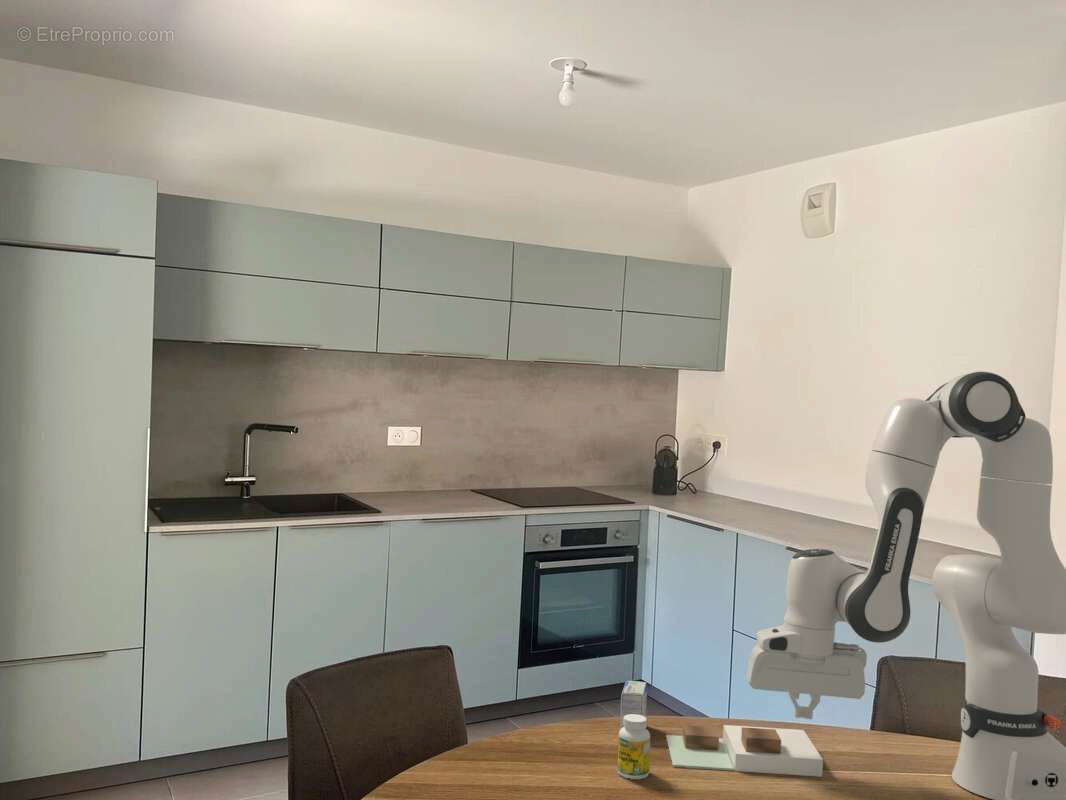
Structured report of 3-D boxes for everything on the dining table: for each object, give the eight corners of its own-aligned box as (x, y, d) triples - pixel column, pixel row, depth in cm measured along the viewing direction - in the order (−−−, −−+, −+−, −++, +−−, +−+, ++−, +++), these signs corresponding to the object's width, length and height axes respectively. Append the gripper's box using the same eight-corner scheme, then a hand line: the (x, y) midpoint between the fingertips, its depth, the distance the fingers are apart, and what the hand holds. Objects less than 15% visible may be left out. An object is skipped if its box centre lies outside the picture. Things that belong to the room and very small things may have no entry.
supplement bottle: (653, 772, 153) (656, 717, 153) (640, 783, 149) (642, 726, 149) (626, 764, 156) (628, 710, 156) (611, 774, 152) (614, 718, 152)
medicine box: (642, 740, 168) (644, 694, 168) (619, 737, 169) (621, 691, 169) (645, 725, 176) (647, 681, 176) (623, 723, 177) (625, 679, 177)
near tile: (774, 743, 161) (775, 729, 161) (780, 754, 156) (781, 739, 156) (741, 741, 161) (741, 727, 161) (746, 751, 156) (746, 737, 156)
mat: (721, 740, 169) (721, 738, 169) (733, 770, 155) (734, 768, 155) (665, 737, 170) (666, 734, 170) (672, 766, 156) (673, 764, 156)
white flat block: (802, 745, 168) (803, 730, 168) (822, 776, 154) (823, 759, 154) (722, 740, 169) (723, 724, 169) (735, 770, 155) (735, 753, 155)
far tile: (714, 740, 168) (715, 727, 168) (718, 750, 163) (718, 736, 163) (682, 738, 169) (683, 725, 169) (685, 748, 164) (685, 734, 164)
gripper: (862, 641, 161) (857, 717, 161) (748, 630, 163) (742, 706, 162) (872, 649, 155) (867, 729, 155) (754, 639, 156) (748, 718, 156)
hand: (802, 717), depth 158 cm, fingers closed
